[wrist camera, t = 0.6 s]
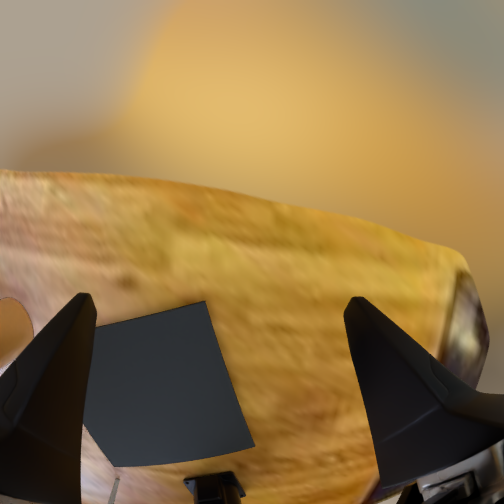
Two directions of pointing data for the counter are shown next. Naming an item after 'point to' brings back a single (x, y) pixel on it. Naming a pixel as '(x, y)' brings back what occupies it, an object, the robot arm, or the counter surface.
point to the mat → (162, 391)
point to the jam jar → (13, 330)
